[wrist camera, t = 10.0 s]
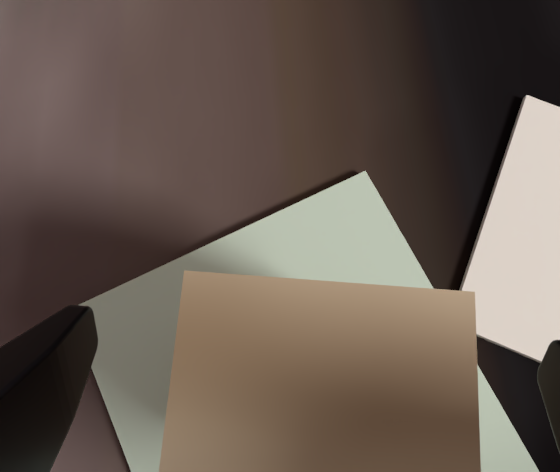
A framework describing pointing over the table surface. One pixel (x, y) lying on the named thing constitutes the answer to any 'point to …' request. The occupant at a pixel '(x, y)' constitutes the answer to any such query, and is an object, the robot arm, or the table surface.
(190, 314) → the oak block
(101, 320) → the felt mat
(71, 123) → the table surface
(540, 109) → the tile
